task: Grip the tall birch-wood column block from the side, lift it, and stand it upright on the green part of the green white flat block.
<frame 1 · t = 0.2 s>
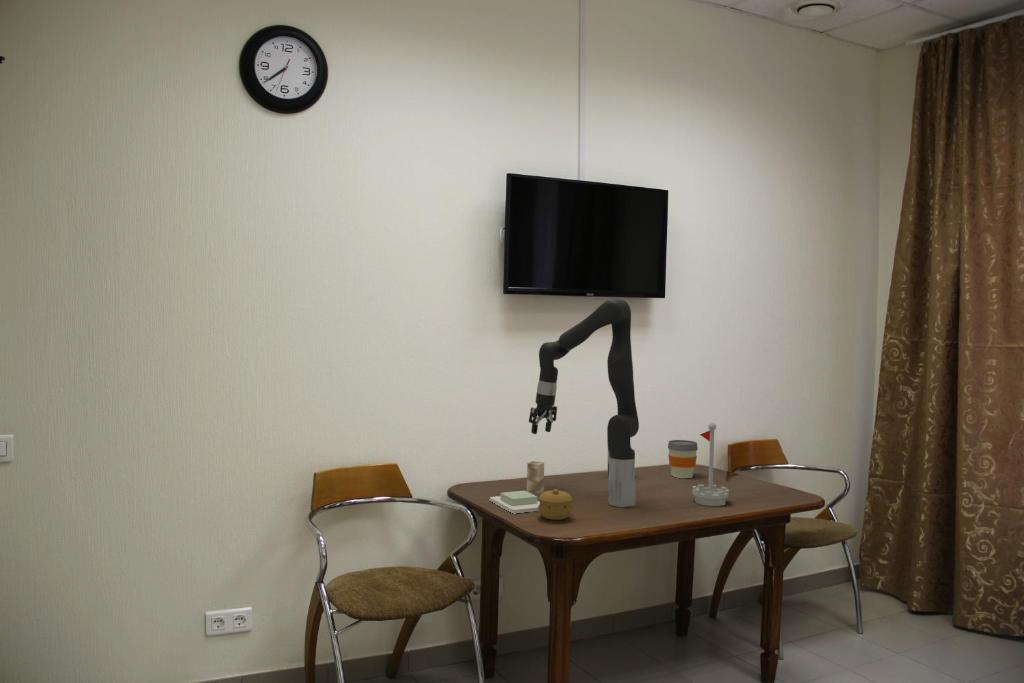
hand: (540, 432, 302), 23 cm above the table, tool pointing down, fingers open, 8 cm apart
reusable coffee cup: (681, 477, 332), on the table
pot: (555, 519, 261), on the table
flag stand: (710, 503, 287), on the table
coffee box: (617, 477, 329), on the table
birch column: (535, 493, 296), on the table
green white flat block: (518, 505, 277), on the table
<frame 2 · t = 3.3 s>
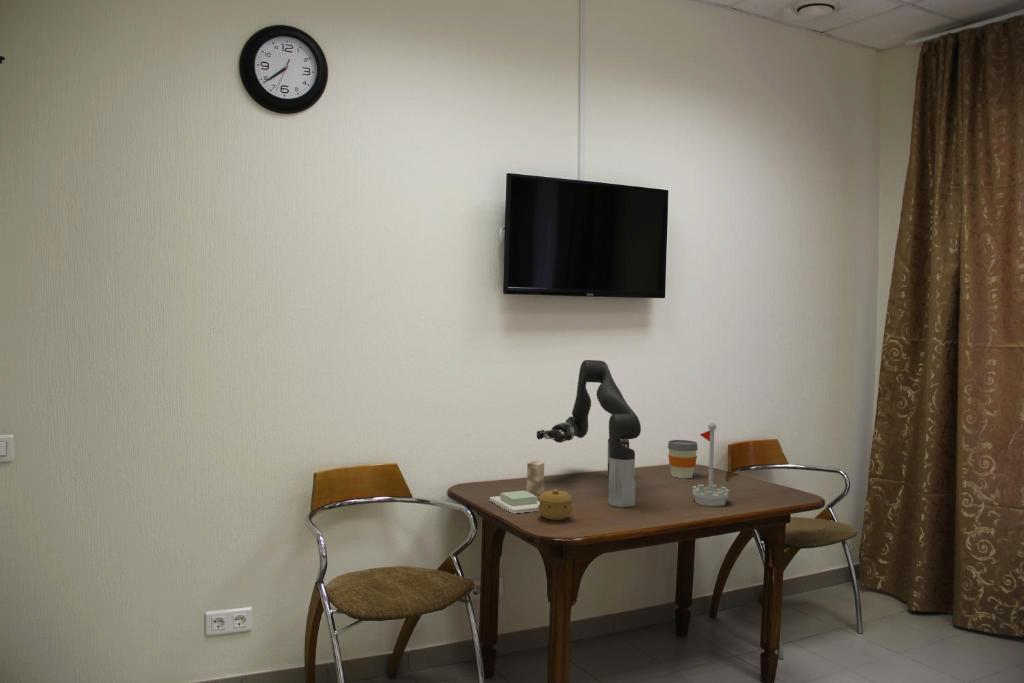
hand: (548, 437, 306), 20 cm above the table, tool horizontal, fingers open, 8 cm apart
nothing on the table moved.
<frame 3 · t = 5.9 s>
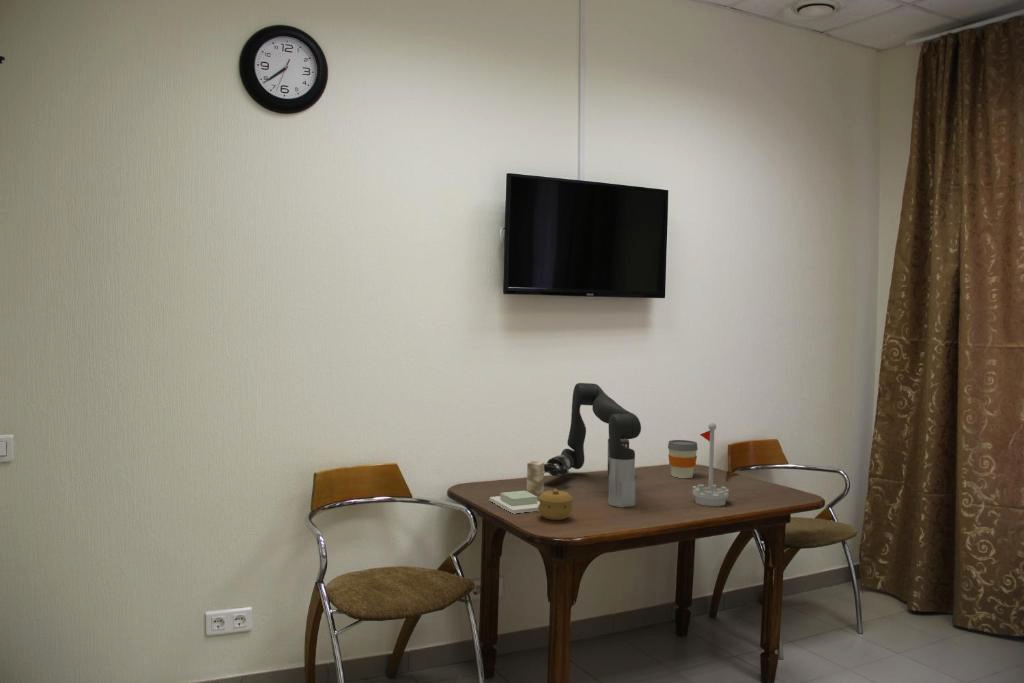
hand: (543, 472, 303), 7 cm above the table, tool horizontal, fingers open, 8 cm apart
nothing on the table moved.
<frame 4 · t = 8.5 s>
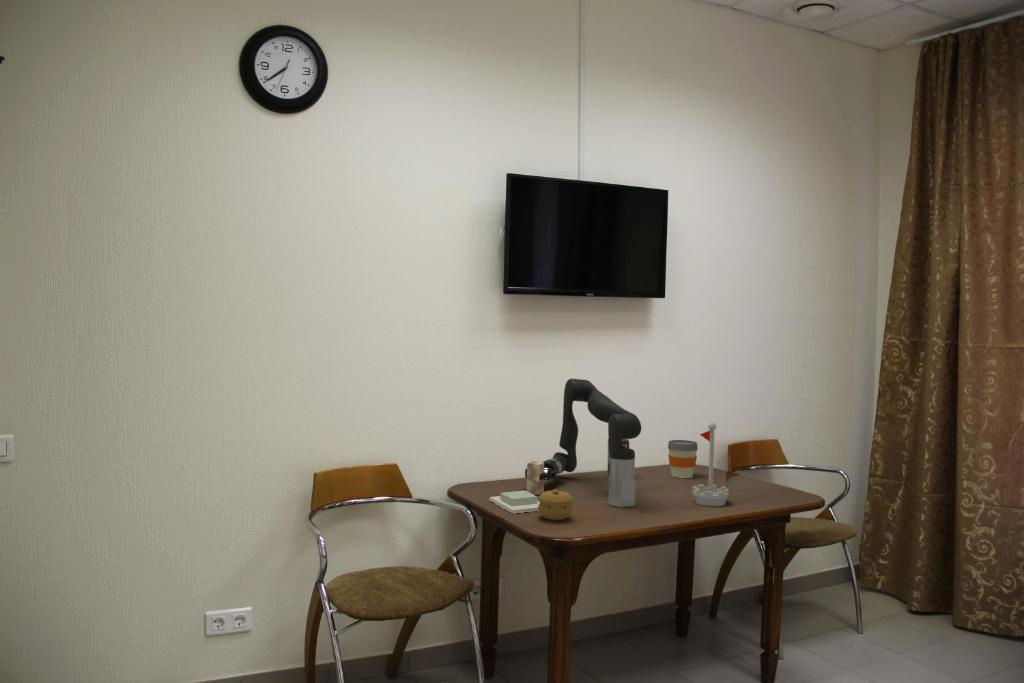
hand: (533, 476, 294), 7 cm above the table, tool horizontal, fingers closed on birch column, 5 cm apart
birch column: (535, 493, 296), on the table, touching gripper
everything else where it was.
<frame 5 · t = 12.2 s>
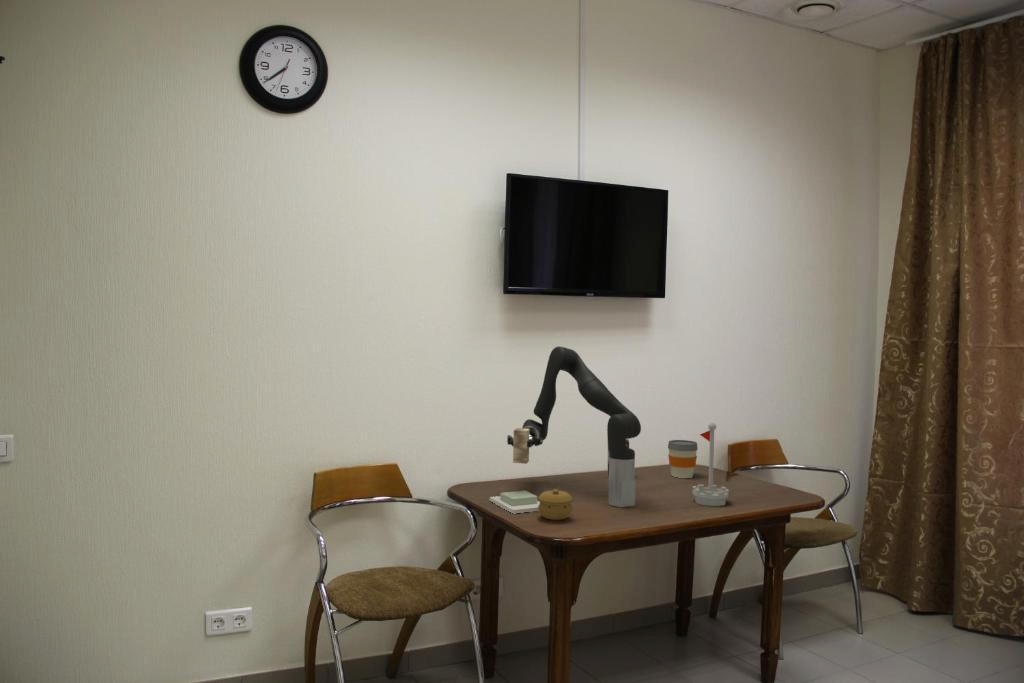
hand: (520, 443, 280), 22 cm above the table, tool horizontal, fingers closed on birch column, 5 cm apart
birch column: (521, 461, 282), point 15 cm above the table, touching gripper
everything else where it was.
when the fingers open (12 cm above the table, at t = 16.0 s): birch column drops 1 cm, resting on green white flat block.
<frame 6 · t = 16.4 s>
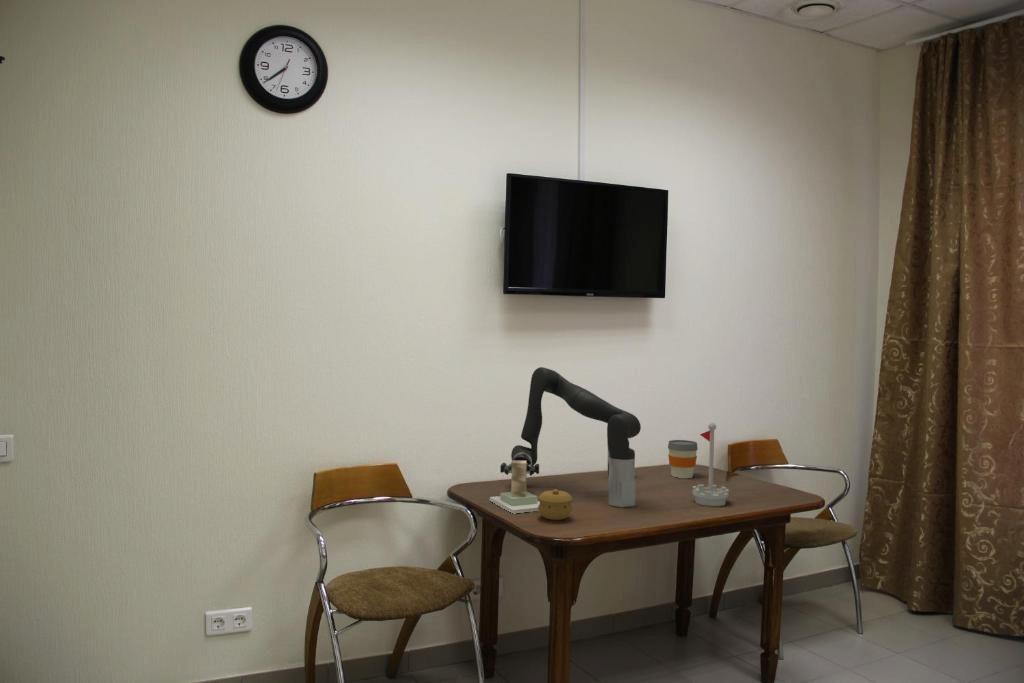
hand: (518, 472, 275), 13 cm above the table, tool horizontal, fingers open, 8 cm apart
birch column: (518, 494, 277), point 4 cm above the table, touching green white flat block
everything else where it was.
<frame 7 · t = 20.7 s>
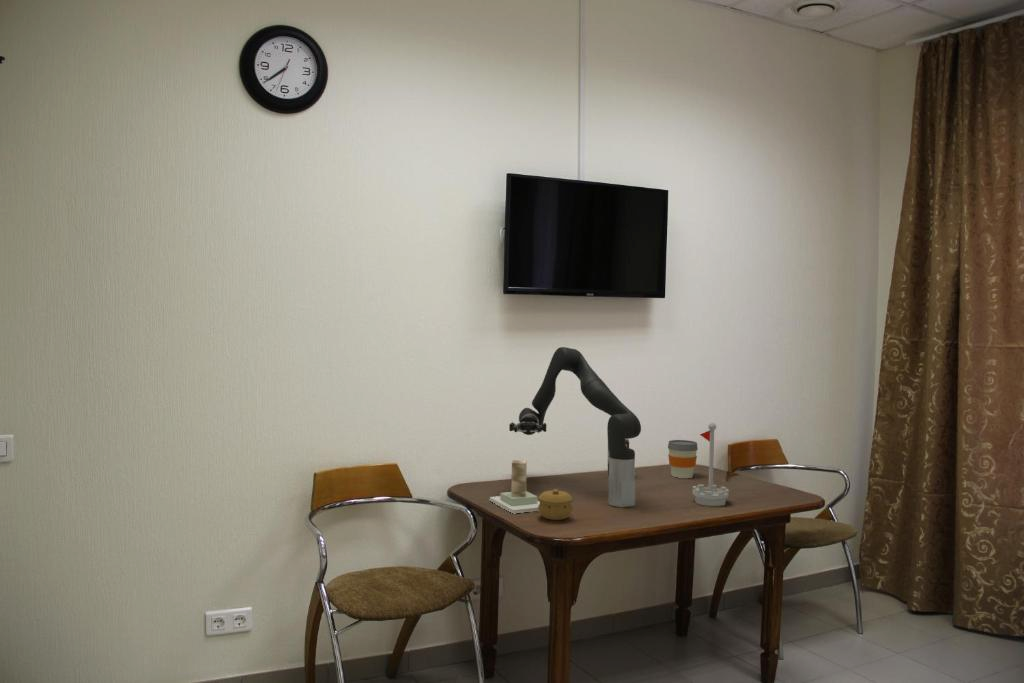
hand: (527, 429, 290), 26 cm above the table, tool horizontal, fingers open, 8 cm apart
nothing on the table moved.
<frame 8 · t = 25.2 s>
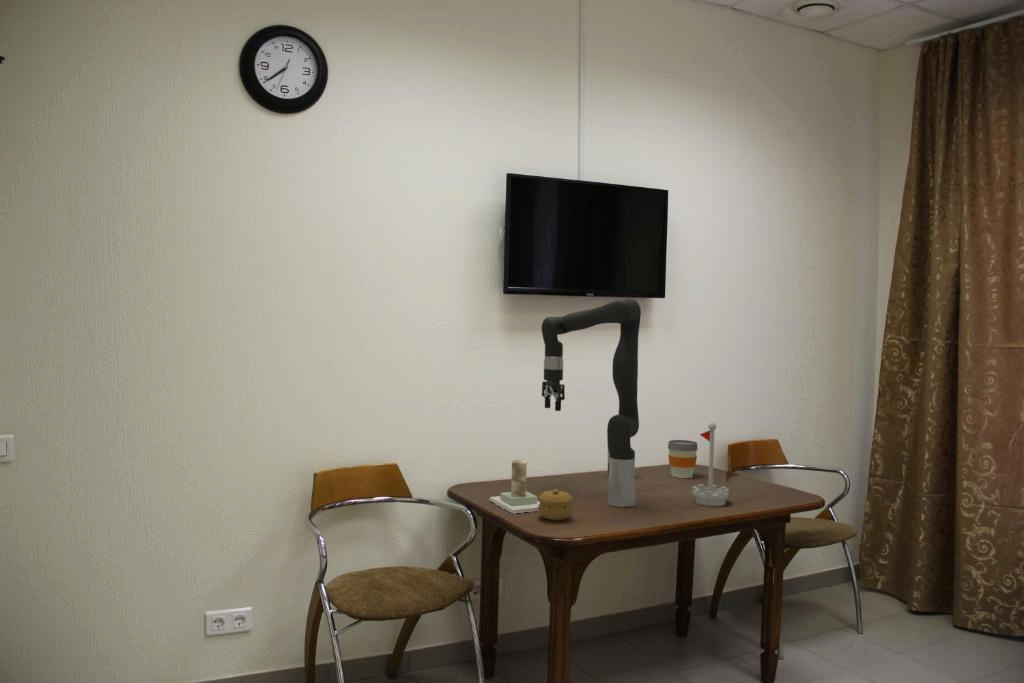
hand: (552, 409, 300), 32 cm above the table, tool pointing down, fingers open, 8 cm apart
nothing on the table moved.
at the end: birch column inside the target area on the green white flat block (0.4 cm from its centre), point 4.0 cm above the green white flat block's base; birch column tilted 0°; the gripper is holding nothing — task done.
